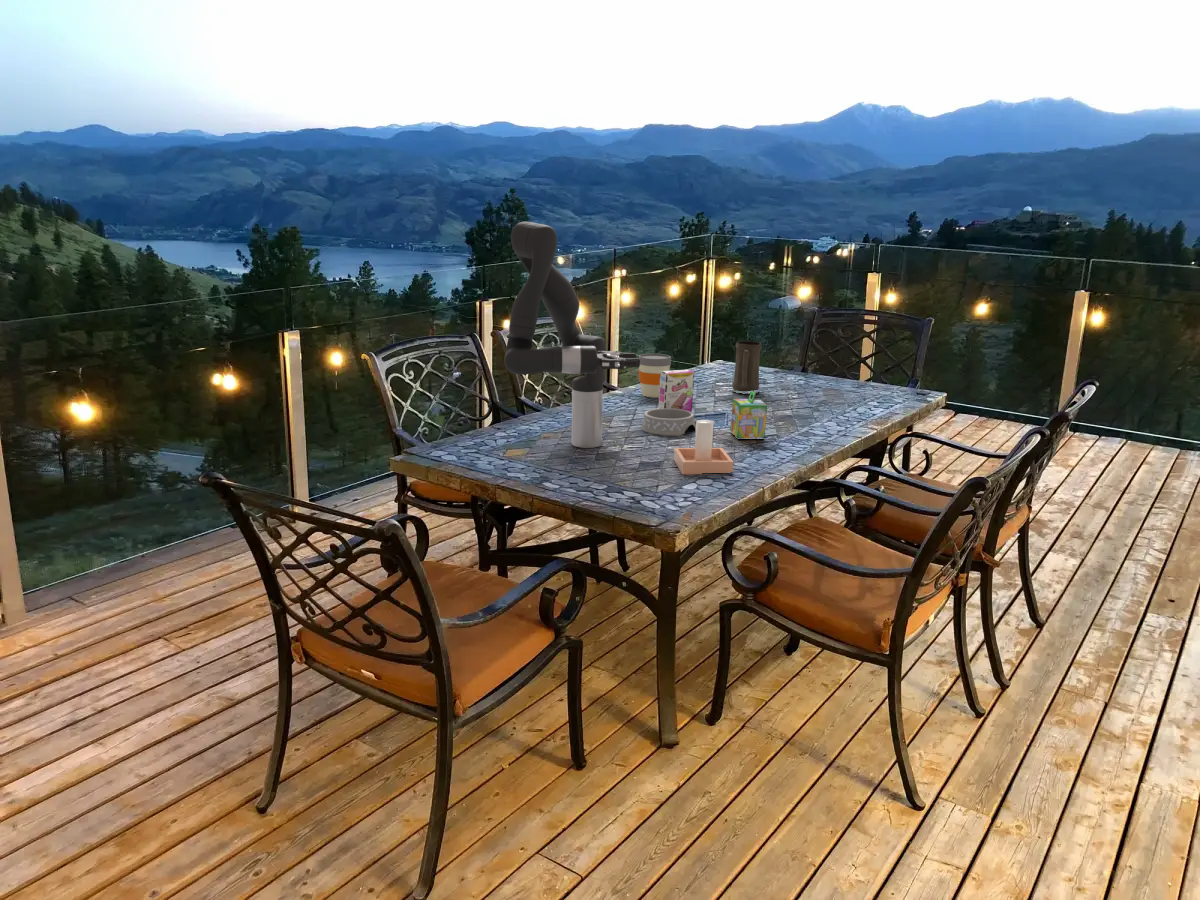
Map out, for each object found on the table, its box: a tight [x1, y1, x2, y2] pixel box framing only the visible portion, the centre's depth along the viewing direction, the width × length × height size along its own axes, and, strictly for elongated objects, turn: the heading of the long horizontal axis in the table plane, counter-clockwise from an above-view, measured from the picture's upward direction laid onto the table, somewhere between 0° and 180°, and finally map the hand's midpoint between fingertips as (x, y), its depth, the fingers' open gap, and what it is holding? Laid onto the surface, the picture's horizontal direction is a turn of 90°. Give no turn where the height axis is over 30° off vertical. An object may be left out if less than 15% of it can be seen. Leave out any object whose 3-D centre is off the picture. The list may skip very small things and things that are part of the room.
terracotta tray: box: [673, 447, 734, 475], centre depth 248 cm, size 14×14×4 cm
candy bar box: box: [657, 369, 695, 413], centre depth 301 cm, size 11×5×16 cm, turn 115°
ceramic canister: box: [694, 419, 715, 461], centre depth 246 cm, size 5×5×12 cm
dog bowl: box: [640, 408, 696, 436], centre depth 289 cm, size 17×18×5 cm
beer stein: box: [732, 340, 763, 391], centre depth 342 cm, size 15×11×20 cm
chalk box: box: [729, 390, 768, 438], centre depth 279 cm, size 9×9×15 cm
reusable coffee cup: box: [638, 353, 672, 398], centre depth 336 cm, size 13×13×15 cm
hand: (637, 359), depth 240 cm, fingers open, 8 cm apart
